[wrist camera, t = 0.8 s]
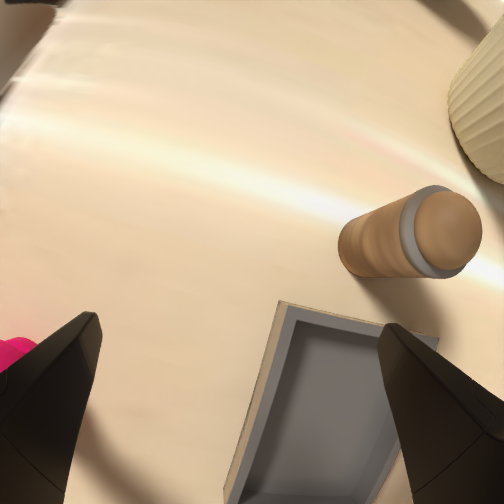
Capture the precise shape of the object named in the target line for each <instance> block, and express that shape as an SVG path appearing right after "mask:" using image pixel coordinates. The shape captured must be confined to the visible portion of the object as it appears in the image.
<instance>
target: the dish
mask: <svg viewBox="0 0 504 504" xmlns="http://www.w3.org/2000/svg"><path fill="white" fill-rule="evenodd" d="M383 327H384V325H383V324H378V323H374V322H369V321H364V320H360V319H356V318H351V317H347V316H342V315H338V314H334V313H329V312H325V311H321V310H317V309H312V308H308V307H304V306H300V305H296V304H292V303H288V302H284V301H279V302H278V305H277V309H276V313H275V317H274V320H273V324H272V328H271V331H270V335H269V339H268V342H267V346H266V349H265V353H264V357H263V360H262V364H261V367H260V371H259V374H258V378H257V381H256V385H255V388H254V391H253V395H252V398H251V402H250V405H249V408H248V412H247V415H246V418H245V422H244V425H243V428H242V431H241V435H240V438H239V441H238V444H237V447H236V451H235V454H234V457H233V460H232V463H231V466H230V469H229V473H228V476H227V479H226V482H225V485H224V488H223V489H224V504H372V503H373V501H374V499H375V497H376V495H377V494H378V492H379V490H380V488H381V486H382V484H383V482H384V480H385V479H386V477H387V475H388V473H389V471H390V469H391V467H392V465H393V462H394V460H395V458H396V456H397V454H398V452H399V450H400V447H401V445H400V441H399V438H398V434H397V430H396V426H395V423H394V419H393V416H392V412H391V409H390V405H389V402H388V398H387V395H386V391H385V388H384V383H383V378H382V373H381V367H380V362H379V357H378V352H377V341H378V339H379V337H380V334H381V332H382V330H383ZM406 330H407V329H406ZM407 331H409V332H410V333H411V334H413V335H414V336H415V337H417V338H418V339H420V340H421V341H422V342H424V343H425V344H426V345H428V346H429V347H430V348H432V349H433V350H434V351H436V348H437V345H438V341H439V338H438V337H434V336H431V335H427V334H423V333H420V332H416V331H411V330H407Z"/></svg>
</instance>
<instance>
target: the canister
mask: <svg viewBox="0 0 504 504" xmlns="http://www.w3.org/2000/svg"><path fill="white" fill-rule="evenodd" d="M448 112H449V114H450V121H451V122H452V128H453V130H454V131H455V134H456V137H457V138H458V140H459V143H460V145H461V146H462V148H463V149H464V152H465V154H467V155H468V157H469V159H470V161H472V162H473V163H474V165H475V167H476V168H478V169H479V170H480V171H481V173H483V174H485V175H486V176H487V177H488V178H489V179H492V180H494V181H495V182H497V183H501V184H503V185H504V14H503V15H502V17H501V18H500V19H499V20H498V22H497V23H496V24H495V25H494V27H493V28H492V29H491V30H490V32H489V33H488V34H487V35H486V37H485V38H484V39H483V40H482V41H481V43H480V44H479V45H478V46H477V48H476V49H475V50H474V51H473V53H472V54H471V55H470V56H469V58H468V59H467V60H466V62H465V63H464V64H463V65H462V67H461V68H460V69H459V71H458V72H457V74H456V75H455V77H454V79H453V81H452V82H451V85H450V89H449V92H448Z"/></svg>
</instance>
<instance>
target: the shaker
mask: <svg viewBox="0 0 504 504" xmlns="http://www.w3.org/2000/svg"><path fill="white" fill-rule="evenodd" d="M481 239H482V223H481V219H480V216H479V214H478V212H477V210H476V208H475V207H474V206H473V204H472V203H471V202H470V201H469V200H468V199H466V198H465V197H464V196H462V195H460V194H458V193H455V192H453V191H451V190H450V189H448V188H446V187H443V186H439V185H432V186H428V187H425V188H423V189H420V190H418V191H416V192H415V193H413V194H411V195H409V196H406V197H404V198H402V199H399V200H397V201H395V202H392V203H390V204H388V205H385V206H383V207H381V208H378V209H376V210H374V211H371V212H369V213H367V214H364V215H362V216H360V217H357V218H355V219H353V220H351V221H350V222H348V223H347V224H346V225H345V226H344V228H343V229H342V231H341V233H340V236H339V239H338V252H339V256H340V259H341V261H342V263H343V264H344V266H345V267H346V268H347V269H348V270H349V271H350V272H351V273H353V274H355V275H357V276H361V277H400V278H432V279H446V278H451V277H453V276H455V275H457V274H458V273H459V272H461V271H462V269H463V268H464V267H465V266H466V264H467V263H468V262H469V261H470V260H471V259H472V258H473V257H474V256H475V254H476V252H477V251H478V249H479V246H480V243H481Z"/></svg>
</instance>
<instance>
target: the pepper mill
mask: <svg viewBox="0 0 504 504" xmlns="http://www.w3.org/2000/svg"><path fill="white" fill-rule="evenodd" d="M35 346H37V344H36V343H34V342H33V341H31V340H29V339H27V338H23V337H17V338H13V339H10V340H7V341H3V340H0V373H1V372H2V371H3V370H5V369H8V367H9V366H10V365H11V364H13V363H14V362H15V361H17V360H18V359H19V358H21V357H22V356H23V355H25V354H26V353H27V352H29V351H30V350H31V349H33V348H34V347H35Z"/></svg>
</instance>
